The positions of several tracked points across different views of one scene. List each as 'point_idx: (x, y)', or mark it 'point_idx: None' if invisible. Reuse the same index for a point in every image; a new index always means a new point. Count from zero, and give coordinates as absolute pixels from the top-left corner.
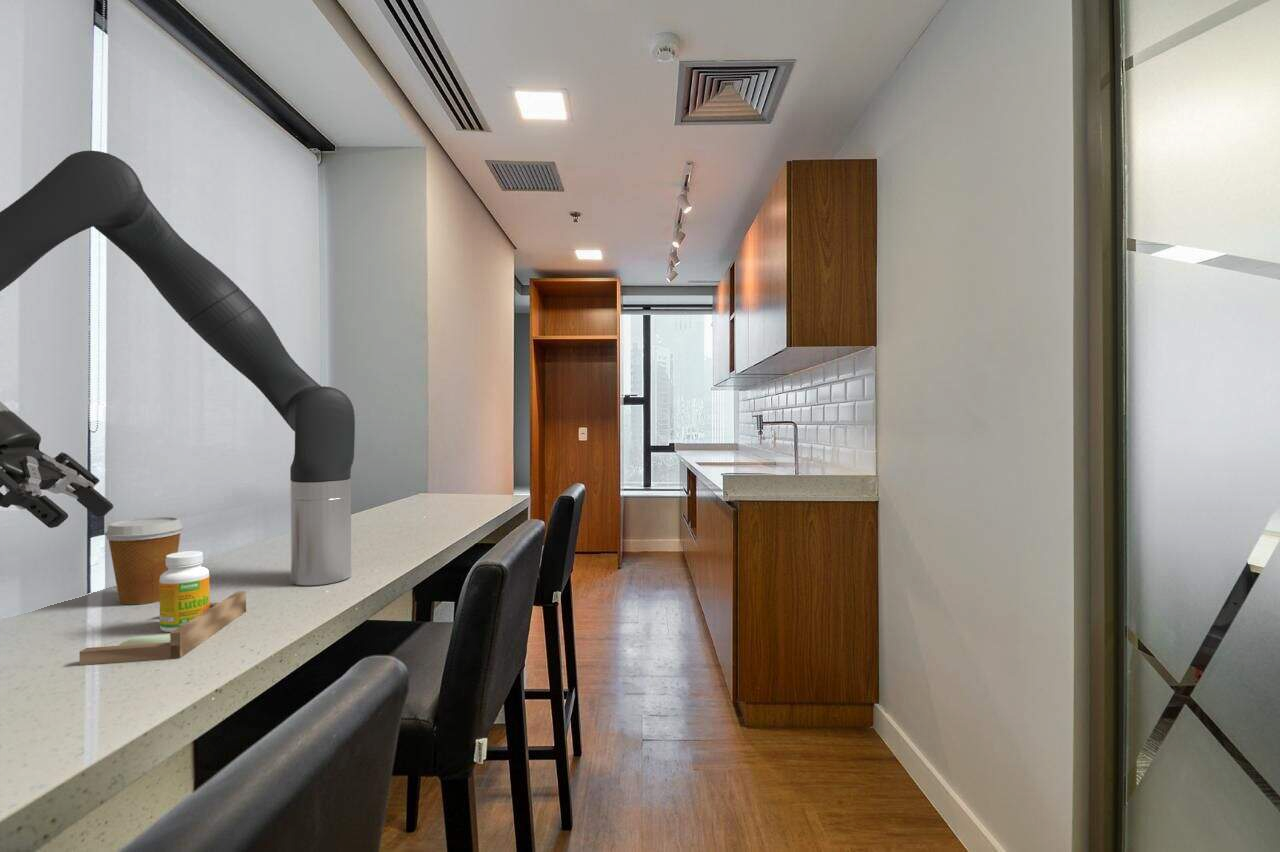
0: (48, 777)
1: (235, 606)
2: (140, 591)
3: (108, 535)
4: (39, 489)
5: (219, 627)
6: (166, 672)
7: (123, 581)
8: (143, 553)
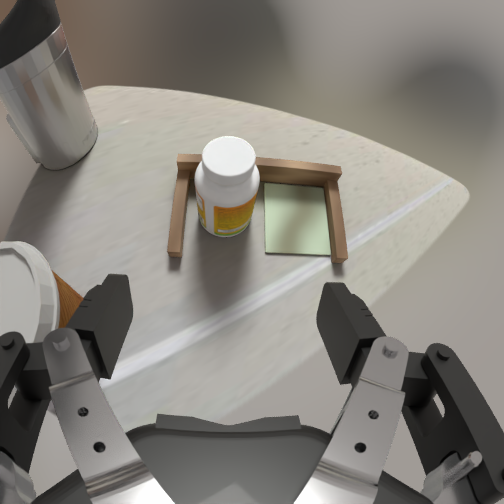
0: (461, 189)
1: None
2: None
3: None
4: (370, 358)
5: None
6: (360, 180)
7: None
8: (66, 298)
